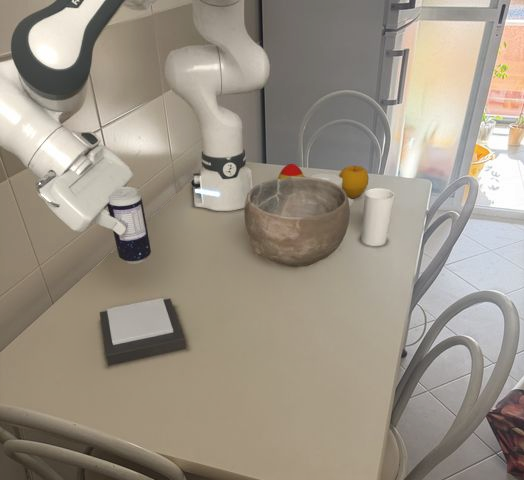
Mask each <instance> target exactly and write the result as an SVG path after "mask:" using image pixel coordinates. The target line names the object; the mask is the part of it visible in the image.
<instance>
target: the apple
mask: <svg viewBox="0 0 524 480" xmlns="http://www.w3.org/2000/svg"><path fill="white" fill-rule="evenodd" d="M368 173H369V172H368V170H367V169H366V168H365V167H363V166H361V165H347V166H346V167H343V169H342V170H341V171H340V172H339V175H338V176H339V177H341V178H342V189H343V190H344V191H345V193H346V195H347V197H348V198H350V199H357V198H359V197H361V195H363V193H365V191H366V189H367V187H368V184H369V179H370V178H369V174H368Z"/></svg>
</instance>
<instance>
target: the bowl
mask: <svg viewBox="0 0 524 480" xmlns="http://www.w3.org/2000/svg"><path fill="white" fill-rule="evenodd" d="M350 208H351V206H350V207H349V201H348V197H347V195H346V193H345V191H344V190H343V189H342V188H341V187H340V186H338V185H336V184H335V183H333V182H330V181H327V180H324V179H319V178H311V176H304V177H298V176H297V177H287V178H282V179H278V178H275V179H272V180H269V181H268V180H267V181H266V182H265V181H264V182H261V183H259V184H257V185H255V186H254V187H252V190H251V191H250V192H249V193H248V194H247V199H246V201H245V207H244V213H243V214H244V216H243V217H244V224H245V229H246V233H247V235H248V239H249V241H250V243H251V244H252V246H253V247H254V250H253V251H254V253H255V254H256V255H258V256H263V257H265V258H266V259H267V260H270V261H271V262H274V263H275V264H278V265H281V266H286V267H291V268H302V267H309V266H311V265H314V264H316V263H318V262H320V261H322V260H324V259H326V258H328V257H329V256H330V255H332V254H333V253H335V252H336V250H337V249H338V248H339V247H340V246H341V244H342V242H343V240H344V238H345V237H346V236H345V235H346V234H347V231H348V227H349V223H350V215H351V211H350V210H351V209H350Z"/></svg>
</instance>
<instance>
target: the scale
mask: <svg viewBox="0 0 524 480" xmlns="http://www.w3.org/2000/svg"><path fill="white" fill-rule="evenodd" d="M99 318H100V325H101V333H102V339H103V345H104V353H105V359H106V362H107V365H108V366H109V367H110V366H115V365H118V364H124V363H127V362H132V361H136V360H141V359H146V358H150V357H156V356H159V355H164V354H168V353H172V352H173V353H174V352H177V351H182V350H186V347H187V346H186V341H185V336H184V334H183V332H182V331H183V330H182V328H181V326H180V322H179V320H178V316H177V314H176V311H175V308H174V305H173V302H172V299H171V298H166V299H164V298H163V297H161V298H155V299H151V300H145V301H140V302H135V303H129V304H123V305H119V306H115V307H109V308H106V310H104V311H100V312H99Z"/></svg>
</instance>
